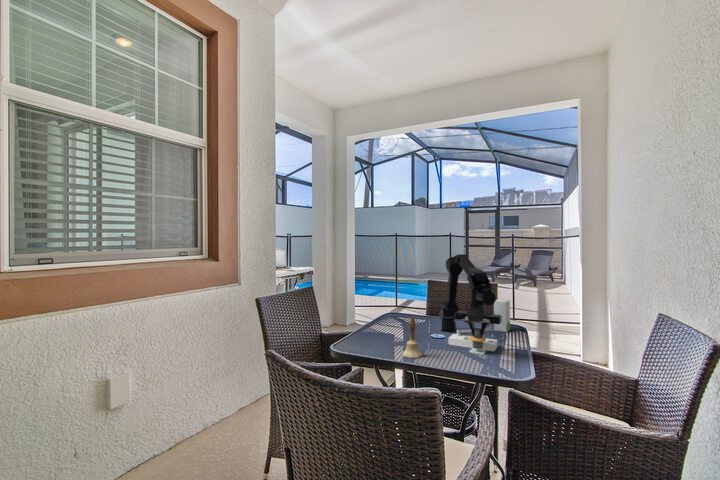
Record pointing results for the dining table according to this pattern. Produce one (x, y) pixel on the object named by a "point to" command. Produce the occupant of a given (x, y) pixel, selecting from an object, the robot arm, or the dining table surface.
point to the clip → (471, 331)
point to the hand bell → (412, 343)
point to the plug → (477, 339)
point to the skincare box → (504, 310)
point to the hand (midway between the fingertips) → (477, 336)
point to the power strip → (471, 342)
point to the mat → (477, 351)
